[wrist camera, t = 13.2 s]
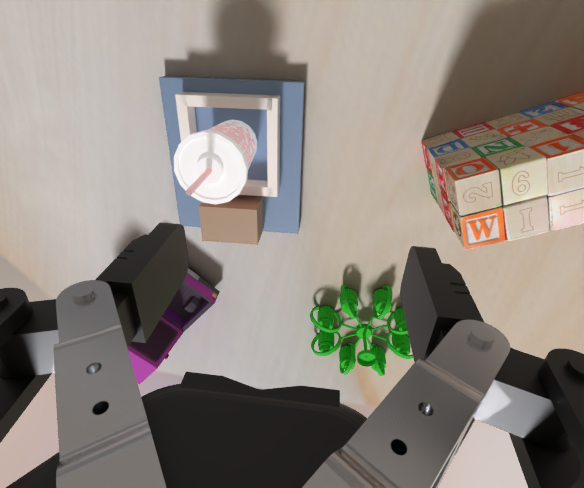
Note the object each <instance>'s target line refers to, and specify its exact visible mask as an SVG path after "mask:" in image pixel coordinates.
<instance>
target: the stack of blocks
mask: <svg viewBox="0 0 584 488" xmlns="http://www.w3.org/2000/svg"><path fill="white" fill-rule="evenodd" d="M422 147H423V152H424V158H425V163H426V167H427V171H428V177H429V183H430V188H431V194H432V196H433V197H434V199H435V200H436V202H437V204H438V205H439V207H440V209H441V210H442V212H443V214H444V215H445V217H446V220H447V221H448V223H449V225H450V226H451V228H452V230H453V231H454V232H455V233H456V235H457V237H458V238H459V240H460V242H461V244H462V245H463V247H464V248H465V249H466V250H467V249H472V248H476V247H480V246H484V245H489V244H493V243H497V242H502V241H505V240H508V241H513V240H517V239H521V238H525V237H529V236H533V235H537V234H541V233H545V232H548V231H549V230H552V231H555V230H559V229H563V228H567V227H571V226H575V225H579V224H583V223H584V92H581V93H578V94H575V95H571V96H568V97H565V98H561V99H558V100H555V101H554V102H551V103H547V104H544V105H541V106H537V107H534V108H531V109H527V110H524V111H521V112H519V113H515V114H511V115H508V116H505V117H501V118H498V119H495V120H492V121H488V122H482V123H479V124H475V125H472V126H469V127H465V128H462V129H459V130H455V131H452V132H448V133H444V134H441V135H438V136H434V137H431V138H427V139H424V140H422Z"/></svg>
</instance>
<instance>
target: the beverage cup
mask: <svg viewBox="0 0 584 488" xmlns="http://www.w3.org/2000/svg"><path fill="white" fill-rule="evenodd" d="M256 151H257V139H256V136H255V133H254V132H253V130H252V129H251V128H250V126H249V125H247V124H245V123H244V122H242V121H238V120H228V121H225V122H222V123H220V124H218V125H216V126H214V127H212V128H210V129H208V130H204V131H200V132H196V133H193V134H190V135H189V136H188V137H187V138H186V139H184V140H183V141H182V142H181V143H180V144H179V145H178V148H177V150H176V152H175V155H174V172H175V174H176V177H177V179H178V181H179V184H180V185H181V186H182V187H183V189H184V190H185V191H186V194H187V195H188V196H192V197H194V198H195V199H197V200H199V201H201V202H203V203H209V204H215V205H216V204H221V203H226V202H229V201H231V200H232V199H233V198H235V197H236V196H238V195H239V194H240V192H241V190H242V188H243V187H244V185H245V183H246V181H247V175H248V169H249V167H250V164H251V162H252V160H253V157H254V155H255V153H256Z"/></svg>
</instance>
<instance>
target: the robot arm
mask: <svg viewBox="0 0 584 488" xmlns="http://www.w3.org/2000/svg"><path fill="white" fill-rule="evenodd" d="M188 264H189V262H188V253H187V245H186V238H185V230H184V227H183V225H181V224H172V223H159V224H158V225H157V226H156V227H155V228H154V230H153V231H152V232H151V233H150V234H149V235H143V236H141V237H139V238H137V239H136V240H134V241H132V242H131V243H130V244H129V245H128V246H127V247H126V248H125V249H124V252H121V254H120V255H119V256H118V257H117V259H115V260H114V261H113V262H112V263H111V264H110V265H109V266H108V267H107V268H106V269H105V270H104V271H103V272H102V273H101V274H100V276H99V277H98V278H97V279H96V280H89V281H83V282H79V283H76V284H74V285H72V286H70V287H68V288H66V289H65V290H63V291H62V292H61V293H60V294H59V295H58V297H57V299H54V300H44V301H35V302H29V301H28V298H27V296H26V294H25V292H24V291H23V290H21V289H18V288H4V289H0V442H1V441H2V440H3V438H4V437H5V436H6V434H7V433H8V432H9V430H10V429H11V428H12V426H13V425H14V424H15V422H16V421H17V420H18V418H19V417H20V416H21V414H22V413H23V411H24V410H25V409H26V408H27V406H28V405H29V404H30V402H31V401H32V400H33V398H34V397H35V396H36V394H37V393H38V391H39V390H40V388H41V387H42V386H43V385H44V383H45V382H46V381H47V379H48V378H49V377H50V375H51V374H52V373H55V384H56V385H55V387H56V403H57V420H58V437H59V452H58V453H57V454H55V455H54V456H52V457H51V458H50V459H48V460H46V461H45V462H43V463H42V464H40V465H39V466H37V467H36V468H34V469H33V470H31V471H30V472H28V473H27V474H25V475H24V476H23V477H21V478H20V479H18V480H17V481H15V482H14V483H12V484H11V485H9V486H8V487H6V488H438V486H439V484H440V483H441V481H442V479H443V477H444V475H445V473H446V471H447V469H448V468H449V466H450V464H451V462H452V460H453V459H454V457H455V455H456V453H457V451H458V450H459V447H460V446H461V444H462V442H463V441H464V439H465V437H466V435H467V434H468V432H469V430H470V428H471V426H472V424H473V423H474V421H475V419H477V420H479V421H482V422H484V423H487V424H489V425H492V426H494V427H496V428H499V429H501V430H504V431H506V432H509V434H510V437H511V440H512V443H513V446H514V448H515V451H516V454H517V457H518V460H519V463H520V465H521V468H522V471H523V474H524V476H525V480H526V482H527V485H528V488H584V354H582V353H579V352H577V351H573V350H569V349H554V350H552V351H550V352H549V353H548V355H547V356H546V358H545V359H542V358H539V357H536V356H532V355H529V354H526V353H523V352H520V351H518V350H515V349H513V348H511V347H510V343H509V341H508V340H507V338H506V337H505V336H504V335H503V334H502V333H501V332H500V331H499V330H498V329H496V328H495V327H493V326H491V325H489V324H487V323H484V321H483V319H482V317H481V315H480V313H479V311H478V309H477V306H476V304H475V302H474V300H473V298H472V296H471V295H470V292H469V290H468V288H467V286H465V285H466V284H465V282H464V280H463V278H462V276H461V274H460V273H459V272H458V271H457V270H456V269H455V268H454V267H452V266H451V265H450V264H444V263H441V260H440V258H439V256H438V253H437V251H436V249H435V248H427V247H416V246H412V247H411V248H410V251H409V254H408V259H407V263H406V267H405V271H404V275H403V279H402V283H401V290H400V297H401V303H402V308H403V312H404V317H405V321H406V326H407V330H408V335H409V339H410V344H411V348H412V352H413V357H414V361H415V363H414V364H413V366H412V367H411V368H410V369H409V370H408V372H407V373H406V374H405V375H404V376H403V377H402V379H401V380H400V381H399V382H398V383H397V384H396V386H395V387H394V388H393V389H392V390H391V392H390V393H389V394H388V395H387V396H386V397H385V399H384V400H383V401H382V402H381V403H380V405H379V406H378V407H377V408H376V409H375V410H374V412H373V413H372V414H371V415H370V416H369V417H368V419H367V418H366V417H365V416H363V415H362V414H360V413H359V412H357V411H356V410H354V409H352V408H350V407H348V406H346V405H343V404H341V403H340V390H332V389H324V388H315V387H307V386H294V387H284V388H274V389H265V390H260V389H256V388H253V387H250V386H248V385H245V384H242V383H240V382H237V381H234V380H232V379H229V378H226V377H224V376H217V375H209V374H201V373H192V372H186V373H185V376H184V378H183V380H182V382H181V384H176V385H172V386H167V387H164V388H161V389H157V390H155V391H153V392H151V393H148V394H146V395H144V396H143V397H141V395H140V391H139V388H138V384H137V380H136V377H135V373H134V370H133V366H132V363H131V359H130V355H129V352H128V346H129V345H130V343H131V342H141V343H146V342H147V340H148V339H149V337H150V335H151V334H152V332H153V330H154V329H155V327H156V325H157V324H158V322H159V320H160V319H161V317H162V316H163V314H164V312H165V311H166V309H167V307H168V306H169V304H170V302H171V301H172V299H173V297H174V296H175V294H176V292H177V291H178V289H179V287H180V286H181V284H182V283H183V281H184V279H185V277H186V275H187V272H188Z"/></svg>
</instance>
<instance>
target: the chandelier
mask: <svg viewBox="0 0 584 488" xmlns="http://www.w3.org/2000/svg"><path fill="white" fill-rule="evenodd" d="M385 289H388V291H386V290H385ZM349 295H350V296H349ZM372 297H373V303H374V305H373V316H372V318H371V319H370V321H369V323H368V324H361V323H360V321H359V319H358V317H357V311H356V310H357V306H358V300H357V293H356V292H355V291H354V290H353V289H348V287H347V285H343V286H341V294H340V304H341V307H342V310H343V311H344V312H345V313H348V315H349V316H350V318H352V319H353V318H356V319H357V321H358V323H359V325H358V326H357V327H356V328H354V327H351V326H348V325H345V324H342V321H341V318H340V317H339V315H338V314H337V313H336V312H335V311H333V309H332V308H331V307H329V306H323V307H320V306H317V307H314V308H313V309H312V311H311V313H310V318H311V321H312V322H313V324H314V325H315V326H316V327H317V328H319V329H320V330H322V331H321V332H320V333H319V334H318V335H317V336H316V337H315V338H314V339H313V341H312V344H311V348H312V350H313V352H314V353H315V354H316V355H319V356H325V355H329V354H331V353H333V352H334V351H336V350H337V349H338V347H339V346H340V344H341V339H343V338H347V337H351V336H354V335H357V336H358V337H359V339H358V340H357V342H356V344H355V345H354V344H352V343H348V346H343V347H342V348H341V349H340V352H339V357H340V372H341V373H342V374H348V373H349V371H350V370H351V369H353V368H354V366H355V361H356V359H355V347H356V346H357V344H358V342H359V341H360V339H361V338H362V339H363V342H364V350H363V351H361V352H359V353H358V355H357V360H358V363H359V364H360V365H362V366H372V369H374V370H376V371H377V372H378V374H379V375H380V376H382V375H384V374H385V370H384V369H385V367H386V359H385V353H384V350H383V349H382V348H381V347H375V346H376V344H371V343H370V341H369V339H368V338H369V337H370V336H371V335H372V336H375V337H378V338H381V339H384V340H386V343H387V345H388V347H389V348H390V349H391V350H392V351H393V352H394V353H395V354H396V355H398V356H400V357H402V358H406V359H411V358H413V355H408V354H409V353H410V339H409V337H408V336H407V334H408V330H407V326H406V321H405V317H404V312H403V308H398V309H397V310H396V311H395V312H393V313H392V314H391V315H390V316H389V318H388V320H387V325H383V326H380V327H376V328H372V327H371V326H370V323H371V321H372V320H373V318H374V317H375V318H377V319H382V318H383V317H384V316H385V315H386V314H387V313H389V312H390V311H391V306H392V303H391V301H392V289H391V287H389V286H386V285H384V286H383V287H382V289H378V290H376V291H375V292H374V293H373V296H372ZM315 310H319V311H318V323H317V322H316V320H315V319H314V317H313V311H315ZM377 312H378V313H379V314H380V315H379V316H378V315H377ZM334 316H335V317H336V318H337V320H338V322H339V327H338V328H336V329H332V327H333V324H334ZM393 317H394V318H395V322H396V325H397V327H398V329H399V331H398V330H394V329H392V328H391V327H390V321H391V319H392V318H393ZM341 325H342V326H345V327H348V328H351V329H354V330H355V332H356V333H354V334H351V335H347V336H344V337H341V336H340V334H339V333H338V332H337V331H338V330H339V329H340V327H341ZM387 326H388V327H389V329H390V330H391V332H389V333H388V335H387V336H386V338H383V337H381V336H378V335H375V334H372V330H376V329H380V328H383V327H387ZM333 333H336V334H337V335H339V340H338V342H337V344H336V345H335V346H334V334H333ZM389 335H392V344H393V346H392V345H391V343H390V341H389ZM318 338H319V340H318V346H319V350H320V351H321V352H317V351H315V350H314V344H315V342H316V341H317V339H318ZM366 339H367V341H368V343H369V345H370V347H371V349H370V350H367V342H366ZM374 348H375V349H374ZM344 369H345V371H344Z"/></svg>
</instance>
